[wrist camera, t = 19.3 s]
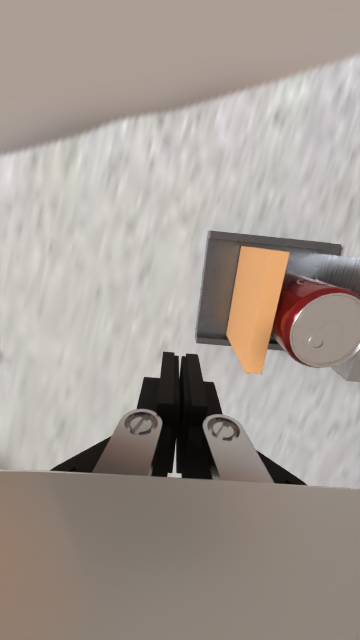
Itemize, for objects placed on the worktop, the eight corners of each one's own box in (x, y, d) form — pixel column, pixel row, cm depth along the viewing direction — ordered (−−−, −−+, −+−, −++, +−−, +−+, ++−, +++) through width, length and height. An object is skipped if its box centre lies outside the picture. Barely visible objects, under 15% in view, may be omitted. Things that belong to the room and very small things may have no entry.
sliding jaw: (226, 334, 33) (245, 372, 24) (241, 245, 29) (270, 250, 20) (237, 335, 33) (261, 374, 24) (254, 247, 29) (289, 252, 20)
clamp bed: (195, 335, 35) (203, 381, 24) (208, 231, 30) (225, 228, 19) (305, 345, 35) (361, 393, 24) (333, 244, 31) (419, 248, 20)
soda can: (281, 256, 30) (346, 269, 18) (314, 299, 32) (391, 334, 20) (235, 296, 31) (268, 330, 20) (269, 334, 33) (316, 386, 22)
